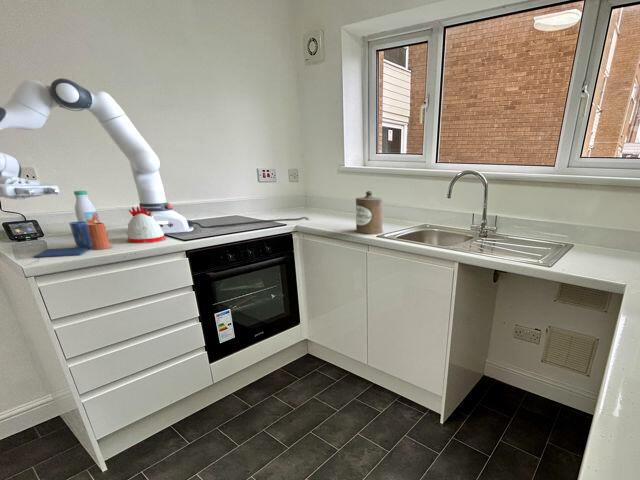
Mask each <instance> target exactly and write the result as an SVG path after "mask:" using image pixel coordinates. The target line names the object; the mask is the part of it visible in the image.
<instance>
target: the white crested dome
mask: <svg viewBox="0 0 640 480" xmlns="http://www.w3.org/2000/svg"><path fill="white" fill-rule="evenodd" d="M128 212H129V213H130V215H132V216H133V217H131V219H130V220H129V222H128V223H127V232H126V237H127V241H128V243H132V244H147V243H154V242H155V243H156V242H161V241H164V240H165V239H166V237H165V234H164V233H163V231H162V229H161V228H160V226H159V224H158V223H157V222H156V221H155V220H154V219H153V218H152V217H150V215H151V211H150V213H149V214H147V209H145V211H144V210H143V208H142V206H141V211H140V207H139V206H136V208H135V207H134V206H131V209H128Z"/></svg>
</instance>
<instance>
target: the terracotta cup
mask: <svg viewBox="0 0 640 480" xmlns="http://www.w3.org/2000/svg"><path fill="white" fill-rule="evenodd" d="M99 222H100V221H99ZM99 222H98V223H88V224H86V226H87V230H88V233H89V237H90V240H91V244H92V247H91V248H92V249H93V250H108V249H110V248H111V243H110V240H109V236H108V233H107V229H106V228H107V227H106V225H105V222H100V223H99Z"/></svg>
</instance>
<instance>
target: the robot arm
mask: <svg viewBox="0 0 640 480" xmlns="http://www.w3.org/2000/svg"><path fill="white" fill-rule="evenodd" d="M56 107H59V108H63V109H65V110H69V111H72V112H82V111H83V110H86V111H88V112H90V114H92V115H93V116H94V117H95V119H96V120H97V121H98V123H99V124H100V126H101V127H102V128H103V130H105V132H106V133H107V135H108V136H109V137H110V139H111V140H112V142H114V144H116V146H117V147H118V148H119V149H120V151H121V152H122V153H123V154H124V156H125V157H126V158H127V160H128V161H129V165H130V169H131V173H132V177H133V180H134V183H135V184H134V185H135V187H136V191H137V192H136V193H137V196H138V201H139V203H138V204H139V206H138V208H139V210H140V211H141V206H142V208H143V210H144V211H145V209H147V214H149V213H150V211H151V215H150V217H152V218H153V219H154V220H155V221H156V222H157V223H158V224H159V226H160V228H161V229H162V231H163V233H164V235H166V234H176V233H189V232H192V231H194V228H195V227H194V225H198V226H199V227H200V228H202V229H211V228H219V227H220V228H221V227H228V226H231V227H232V226H238V225H246V224H247V225H248V224H256V223H266V222H267V223H269V222H281V221H283V222H284V221H300V220H303V219H305V220H308V221H309V218H308V217H306V216H302V217H299V218H298V217H297V218H278V219H267V220H254V221H245V222H235V223H226V224H225V223H224V224H214V225H209V226H207V225H201V224H200V223H199V222H195V221H193V220H190V219H187V218H186V217H185V216H184V215H182V214H180V213H178V212H176V211H175V210H173V205H172V203H169V202H167V198H166V193H165V189H164V185H163V181H162V178H161V175H160V170H159V169H160V167H161V160H160V158H159V157H158V155H157V154H156V153H155V151H154V150H153V149H152V147H151V146H150V145H149V144H148V142H147V141H146V140H145V138H144V137H143V136H142V135H141V134H140V132H139V130H138V129H137V128H136V126H135V125H134V124H133V123H132V121H131V120H130V118H129V117H128V116H127V114H126V113H125V111H124V110H123V109H122V107H121V106H120V105H119V104H118V103H117V102H116V100H115V99H114V98H113V97H112V96H111V95H110V94H109V93H108V92H106V91H103V90H94V91H89V90H88V89H87V88H85V87H83V86H81V84H79V83H77V82H75V81H73V80H71V79H68V78H61V77H60V78H56V79H54V80H53V81H52V82H51V84H50V85H47V84H44V83H43V82H41V81H39V80H35V79H31V78H26V79H24V80H23V81H21V83H20V84H19V85H17V87H16V88H15V90H14V91H13V92H12V94H11V96H10V98H9V99H8V101H7V102H6V103H4V104H3V105H1V106H0V131H1V130H4V129H18V130H24V131H34V130H39V129H41V128H42V127H43V126H44V125H45V124H46V122H47V120H48V118H49V116H50V115H51V113H52V111H53V109H54V108H56ZM21 176H22V165H21V164H20V162H19V161H18V159H17V158H16V157H14V156H12V155H10V154H7V153H5V152H2V151H0V198H5V199H9V200H10V199H11V200H18V201H20V200H21V201H22V200H25V199H29V198H33V197H42V196H57V195H60V188H59V186H58V185H56V184H52V183H47V182H43V181H39V180H37V179H29V178H23V177H21Z"/></svg>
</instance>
